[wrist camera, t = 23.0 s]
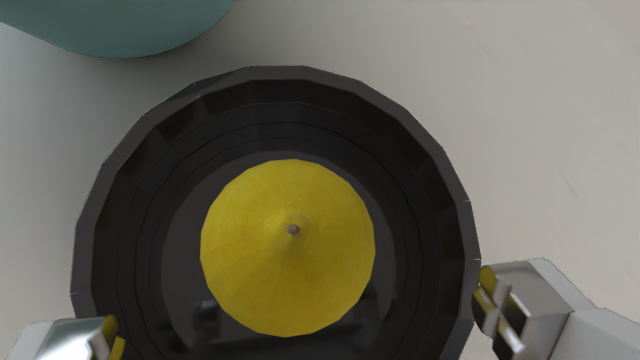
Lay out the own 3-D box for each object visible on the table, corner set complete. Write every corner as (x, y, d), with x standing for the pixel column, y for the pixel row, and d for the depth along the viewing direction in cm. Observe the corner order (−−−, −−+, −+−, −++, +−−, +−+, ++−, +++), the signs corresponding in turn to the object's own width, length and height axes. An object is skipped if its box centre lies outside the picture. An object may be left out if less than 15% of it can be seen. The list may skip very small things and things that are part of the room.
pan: (358, 83, 20) (381, 25, 15) (480, 338, 17) (550, 354, 13) (88, 171, 17) (26, 131, 13) (182, 492, 14) (143, 579, 10)
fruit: (372, 235, 17) (452, 191, 9) (305, 352, 16) (338, 413, 8) (266, 169, 17) (262, 73, 10) (190, 277, 16) (112, 266, 8)
